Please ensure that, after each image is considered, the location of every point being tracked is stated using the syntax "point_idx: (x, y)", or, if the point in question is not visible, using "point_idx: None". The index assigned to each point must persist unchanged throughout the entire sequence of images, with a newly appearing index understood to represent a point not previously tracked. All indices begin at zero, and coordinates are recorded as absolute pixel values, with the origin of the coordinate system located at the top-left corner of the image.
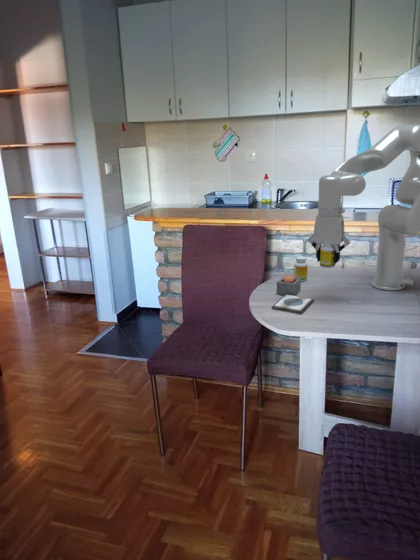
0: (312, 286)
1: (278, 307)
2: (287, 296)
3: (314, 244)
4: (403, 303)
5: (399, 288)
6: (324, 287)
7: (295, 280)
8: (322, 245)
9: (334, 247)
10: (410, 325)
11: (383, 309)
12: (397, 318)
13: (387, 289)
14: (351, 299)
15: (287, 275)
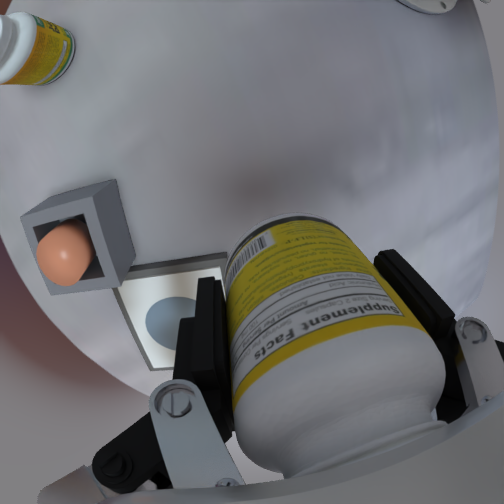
0: (130, 88)
1: (169, 369)
2: (130, 295)
3: (161, 489)
4: (480, 116)
5: (453, 5)
6: (187, 64)
7: (78, 212)
8: (257, 454)
9: (430, 412)
10: (484, 254)
11: (449, 189)
12: (471, 232)
13: (430, 13)
14: (353, 147)
15: (42, 250)
